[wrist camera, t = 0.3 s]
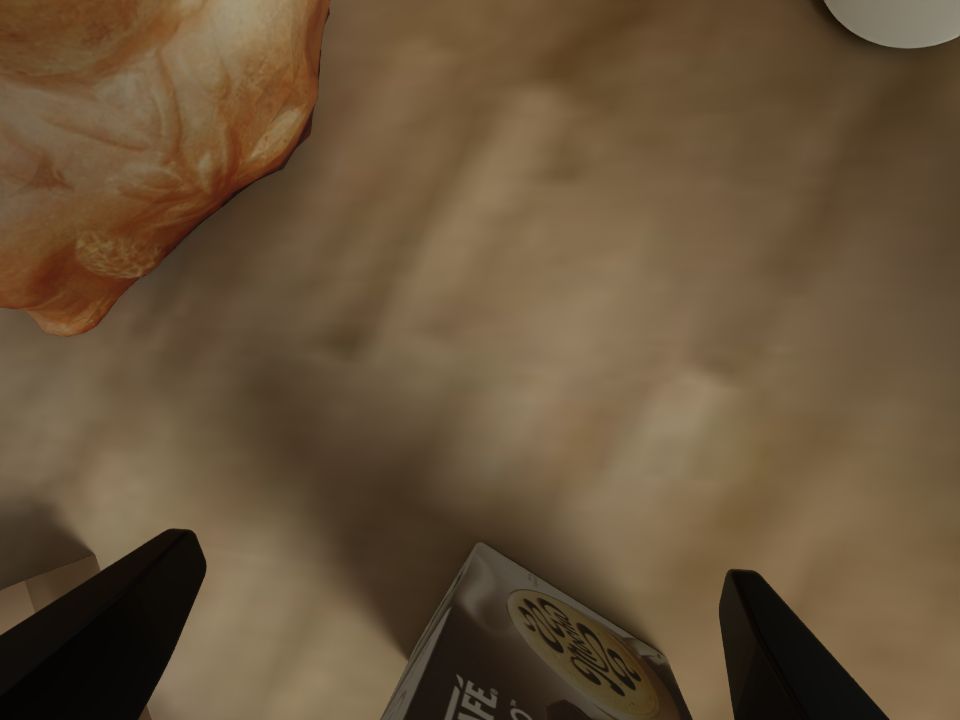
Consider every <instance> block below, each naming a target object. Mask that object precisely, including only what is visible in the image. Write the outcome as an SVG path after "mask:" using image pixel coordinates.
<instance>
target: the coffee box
mask: <svg viewBox="0 0 960 720" xmlns="http://www.w3.org/2000/svg"><path fill="white" fill-rule="evenodd" d="M380 720H693V719H692V717H691V714H690V712H689V710H688V708H687V705H686V703H685V701H684V699H683V696H682V694H681V692H680V689H679V687H678V684H677V682H676V679H675V677H674V675H673V672H672V670H671V667H670V665H669V662H668V660H667V659H666V657H665V656H663V655H662V654H660V653H659V652H657V651H656V650H654V649H653V648H651V647H649V646H648V645H646V644H644V643H643V642H641V641H640V640H638V639H636V638H635V637H633V636H632V635H630V634H628V633H627V632H625V631H624V630H622V629H620V628H619V627H617V626H616V625H614V624H612V623H611V622H609V621H608V620H606V619H604V618H603V617H601V616H600V615H598V614H596V613H595V612H593V611H591V610H590V609H588V608H587V607H585V606H583V605H582V604H580V603H579V602H577V601H575V600H574V599H572V598H571V597H569V596H567V595H566V594H564V593H563V592H561V591H559V590H558V589H556V588H555V587H553V586H551V585H550V584H548V583H547V582H545V581H543V580H542V579H540V578H539V577H537V576H535V575H534V574H532V573H531V572H529V571H527V570H526V569H524V568H522V567H521V566H519V565H518V564H516V563H514V562H513V561H511V560H510V559H508V558H506V557H505V556H503V555H501V554H500V553H498V552H497V551H495V550H494V549H492V548H491V547H489V546H487V545H486V544H484V543H482V542H478V543H477V544H476V545H475V546H474V548H473V550H472V551H471V553H470V555H469V556H468V558H467V560H466V561H465V563H464V565H463V566H462V568H461V569H460V571H459V573H458V574H457V576H456V578H455V580H454V581H453V583H452V585H451V586H450V588H449V590H448V591H447V593H446V595H445V596H444V598H443V600H442V601H441V603H440V605H439V606H438V608H437V610H436V611H435V613H434V615H433V616H432V618H431V620H430V622H429V623H428V625H427V627H426V628H425V630H424V632H423V634H422V635H421V637H420V639H419V641H418V642H417V644H416V646H415V648H414V650H413V652H412V654H411V656H410V658H409V661H408V664H407V666H406V668H405V670H404V672H403V674H402V676H401V678H400V680H399V683H398V685H397V687H396V689H395V691H394V693H393V695H392V697H391V699H390V701H389V703H388V705H387V707H386V709H385V711H384V713H383V715H382V717H381V719H380Z"/></svg>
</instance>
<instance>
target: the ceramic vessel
mask: <svg viewBox="0 0 960 720" xmlns="http://www.w3.org/2000/svg"><path fill="white" fill-rule="evenodd" d="M329 4H330V0H0V308H11V309H23V310H24V311H25V312H26V313H28V314H29V315H30V316H31V317H32V318H33V320H34V321H35V322H36V323H37V325H38V326H39V327H40V328H41V330H42V331H43V332H45V333H49V334H53V335H58V336H66V337H69V336H73V335H78V334H82V333H85V332H87V331H88V330H90V329H92V328H94V327H96V326H97V325H98V324H99V322H100V321H101V320H102V319H103V317H104V316H105V315H106V314H107V313H108V311H109V310H110V309H111V307H112V306H113V305H114V303H115V302H116V300H117V299H118V298H119V297H120V296H121V295H122V294H123V293H124V292H125V291H126V290H127V289H128V288H129V287H130V286H131V285H132V284H133V283H134V282H135V281H137V280H138V279H139V278H140V277H142V276H145V275H147V274H148V273H149V272H151V271H152V270H153V269H154V268H156V267H157V266H158V265H159V264H160V263H161V261H162V260H163V259H164V258H165V257H167V256H168V255H169V254H170V253H171V252H172V250H173V249H174V248H175V247H176V246H177V245H178V244H179V243H180V242H181V241H182V240H183V239H184V238H185V237H187V236H188V235H189V234H190V233H191V232H192V231H193V230H194V229H195V228H196V227H197V226H198V225H199V224H201V223H202V222H203V221H204V220H205V219H207V218H208V217H209V216H210V215H212V214H213V213H215V212H216V211H217V210H219V209H220V208H221V207H223V206H224V205H225V204H226V203H228V202H229V201H230V200H231V199H232V198H233V197H235V196H236V195H237V194H238V193H240V192H241V191H243V190H244V189H245V188H247V187H248V186H249V185H251V184H252V183H253V182H255V181H257V180H259V179H261V178H263V177H265V176H267V175H270V174H272V173H274V172H276V171H278V170H281V169H283V168H284V166H285V165H286V163H287V161H288V160H289V158H290V157H291V155H292V153H293V152H294V150H295V149H296V148H297V147H298V146H299V145H300V144H301V143H302V142H303V141H304V140H305V139H306V138H307V137H309V135H310V133H311V125H312V116H313V111H314V106H315V102H316V100H317V98H318V88H319V72H320V56H321V42H322V35H323V29H324V25H325V23H326V21H327V19H328V16H329V14H330V12H329Z"/></svg>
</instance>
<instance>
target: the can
mask: <svg viewBox="0 0 960 720" xmlns="http://www.w3.org/2000/svg"><path fill="white" fill-rule="evenodd" d="M824 2H825V3H826V5H827V7H828V8H829V10H830V11H831V13H832V14H833V15H834V16H835V17H836V19H837V20H838V21H839V22H840V23H841V24H843V25H844V26H845V27H846V28H847V29H849V30H850V31H851V32H853V33H855V34H856V35H858V36H860V37H862V38H864V39H866V40H868V41H871V42H874V43H876V44H880V45H884V46H888V47H895V48H922V47H928V46H933V45H937V44H941V43H944V42H947V41H949V40H952V39H955V38H957V37H959V36H960V0H824Z"/></svg>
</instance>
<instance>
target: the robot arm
mask: <svg viewBox="0 0 960 720" xmlns="http://www.w3.org/2000/svg"><path fill="white" fill-rule="evenodd" d="M205 573H206V560H205V557H204V554H203V552H202V549H201V547H200V544H199V541H198V539H197V536H196V534H195V533H194V532H193V531H192V530H188V529H168V530H166V531H164V532H162V533H161V534H159V535H158V536H156V537H154V538H153V539H151V540H150V541H148V542H147V543H145V544H143V545H142V546H140V547H139V548H137V549H136V550H134V551H132V552H131V553H129V554H128V555H126V556H124V557H123V558H121V559H120V560H118V561H117V562H115V563H113V564H112V565H110V566H109V567H107V568H106V569H104V570H102V571H101V572H99V573H98V574H96V575H94V576H93V577H91V578H90V579H88V580H87V581H85V582H83V583H82V584H80V585H79V586H77V587H75V588H74V589H72V590H71V591H69V592H68V593H66V594H64V595H63V596H61V597H60V598H58V599H57V600H55V601H53V602H52V603H50V604H49V605H47V606H45V607H44V608H42V609H41V610H39V611H38V612H36V613H34V614H33V615H31V616H30V617H28V618H27V619H25V620H23V621H22V622H20V623H19V624H17V625H15V626H14V627H12V628H11V629H9V630H8V631H6V632H4V633H3V634H1V635H0V720H139V718H140V716H141V714H142V712H143V710H144V708H145V706H146V705H147V703H148V701H149V699H150V697H151V695H152V693H153V691H154V689H155V687H156V686H157V684H158V682H159V680H160V678H161V676H162V674H163V672H164V670H165V668H166V666H167V664H168V662H169V660H170V658H171V656H172V654H173V651H174V649H175V647H176V645H177V642H178V640H179V637H180V635H181V633H182V630H183V628H184V625H185V623H186V620H187V618H188V616H189V613H190V611H191V608H192V606H193V604H194V601H195V599H196V596H197V594H198V591H199V589H200V587H201V584H202V582H203V579H204V577H205ZM719 619H720V626H721V633H722V640H723V647H724V653H725V660H726V667H727V674H728V680H729V687H730V694H731V701H732V707H733V713H734V719H735V720H890V719H889V718H888V717H887V716H886V715H885V714H884V713H883V711H882V710H881V709H880V708H879V707H878V706H877V705H876V704H875V703H874V701H873V700H872V699H871V698H870V697H869V696H868V695H867V694H866V692H865V691H864V690H863V689H862V688H861V687H860V686H859V685H858V684H857V682H856V681H855V680H854V679H853V678H852V677H851V676H850V675H849V673H848V672H847V671H846V670H845V669H844V668H843V667H842V666H841V665H840V663H839V662H838V661H837V660H836V659H835V658H834V657H833V656H832V654H831V653H830V652H829V651H828V650H827V649H826V648H825V647H824V646H823V644H822V643H821V642H820V641H819V640H818V639H817V638H816V637H815V635H814V634H813V633H812V632H811V631H810V630H809V629H808V628H807V627H806V625H805V624H804V623H803V622H802V621H801V620H800V619H799V618H798V616H797V615H796V614H795V613H794V612H793V611H792V610H791V609H790V608H789V606H788V605H787V604H786V603H785V602H784V601H783V600H782V599H781V597H780V596H779V595H778V594H777V593H776V592H775V591H774V590H773V589H772V587H771V586H770V585H769V584H768V583H767V582H766V581H765V580H764V578H763V577H762V576H761V575H760V574H759V573H757V572H756V571H753V570H743V569H730V570H728V572H727V574H726V577H725V581H724V585H723V590H722V594H721V599H720V603H719Z"/></svg>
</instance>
